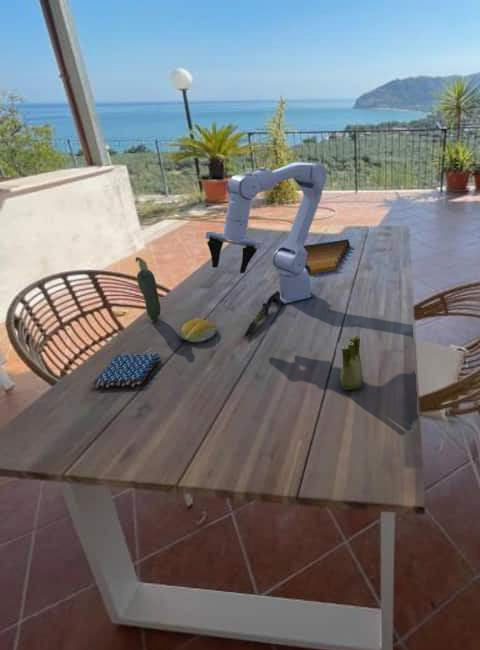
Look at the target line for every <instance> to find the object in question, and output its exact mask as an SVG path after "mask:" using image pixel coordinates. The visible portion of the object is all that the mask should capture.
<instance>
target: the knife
mask: <svg viewBox="0 0 480 650" xmlns="http://www.w3.org/2000/svg"><path fill="white" fill-rule="evenodd" d="M280 302H281V300H280V291H279V290H278V291H275V293H273V294H271V295H270V296H269V298H268V299H267V301H266V302H263V304H262V307H261V308H260V310H259V312H258V313H257V314H256V316H255V317H254V319H253V320H252V321H251V322H250V324H249V326H248V328H247V330H246V332H245V334H244V337H248V336H250V335H251V334H252V333H253V331H254V330H255V328H256V327H257V325H258V324H259V323H260V321H261V319H263V318H264V316H265V315H266V316H267V315H268V313H269V309H271V306H272V304H276V303H277V304H279V303H280Z"/></svg>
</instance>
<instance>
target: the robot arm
mask: <svg viewBox="0 0 480 650" xmlns="http://www.w3.org/2000/svg"><path fill="white" fill-rule="evenodd" d="M290 179H293V180H294V182H295V183H296V185H297V186H298V188H300V190H301V191H302V194H303V195H302V199H301V202H300V204H299V207H298V209H297V211H296V215H295V218H294V219H293V223H292V224H291V228H290V230H289V234H288V237H287V239H286V240H284V241H283V242H281V243H279V245H278V247H277V249H276V251H274V253H273V254H272V257H271V263H272V265H273V267H274V268H275V269H276V271H277V274H278V286H279V292H280V302H282V303H283V304H290V303H293V302H297V301H301V300H305V299H309V298H312V295H311V281H310V279H311V278H310V273H309V272H308V271H307V270H306V268H305V265H306V257H307V252H306V250H305V248H304V247H303V246H305V242H306V240H307V237H308V234H309V231H310V229H311V226H312V223H313V221H314V219H315V216H316V212H317V209H318V208H319V204H320V202H321V199H322V195H323V190H324V188H325V184H326V182H327V179H328V173H327V170H326V168H325V166H324V165H323V164H322V163H310V162H304V161H296V162H291V163H289V164H287V165H284V166H282V167H279V168H275V169H273V170H271V169H270V168H267V167H265V166H261V167H258V170H256V171H252V172H251V171H246V172H245V174H244V175H241V174H240V175H239V174H236V175H235V174H234V175H233V176H231V177H230V179H229V180H228V182H226V184H225V188H226V192H227V194H228V196H227V199H228V202H227V209H226V214H225V215H226V216H225V221H224V228H223V233H221V232H216V231H211V230H210V231H206V232H205V239H206V240H207V241H206V242H207V247H208V249H209V252H210V257H211V265H212V266H211V267H212V268H214V269H215V268H218V267H219V263H220V256H221V252H222V248H223V246H224V243H227V244H232V245H238V246H242V257H241V264H240V270H239V273H240V274H245V273H246V271H247V268H248V266H249V263H250V262H251V260H252V258H253V257H254V255H255V254H256V253H257V251H258V250H261V248H262V241H260V240H255V239H252V238H248V237H246V236H247V229H248V224H249V219H250V212H251V205H252V200H253V199H255V198H256V197H257V196H258V194H261V193H263V192H265V191H268V190H272V189H274V188H275V187H276V185H277V183H280V182H284V181H286V180H290ZM293 252H295V253H293Z"/></svg>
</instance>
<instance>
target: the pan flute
mask: <svg viewBox="0 0 480 650" xmlns="http://www.w3.org/2000/svg"><path fill="white" fill-rule="evenodd" d="M350 245H351V242H350V240H349V239H348V238H347V239H340V240H335V241H334V240H333V241H327V242H320V243H314V244H306V245H303V247H304V248H305V250H306V252H307V257H306V265H305V269H306V270H307V272H308V274H309V275H315V274H321V273H326V272H331V271H332V272H333V271H336V269H337V267H338V266H339V263H341V261H342V259H343V258H344V255H346V251H348V248H350ZM292 253H295V252H293V251H292Z"/></svg>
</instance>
